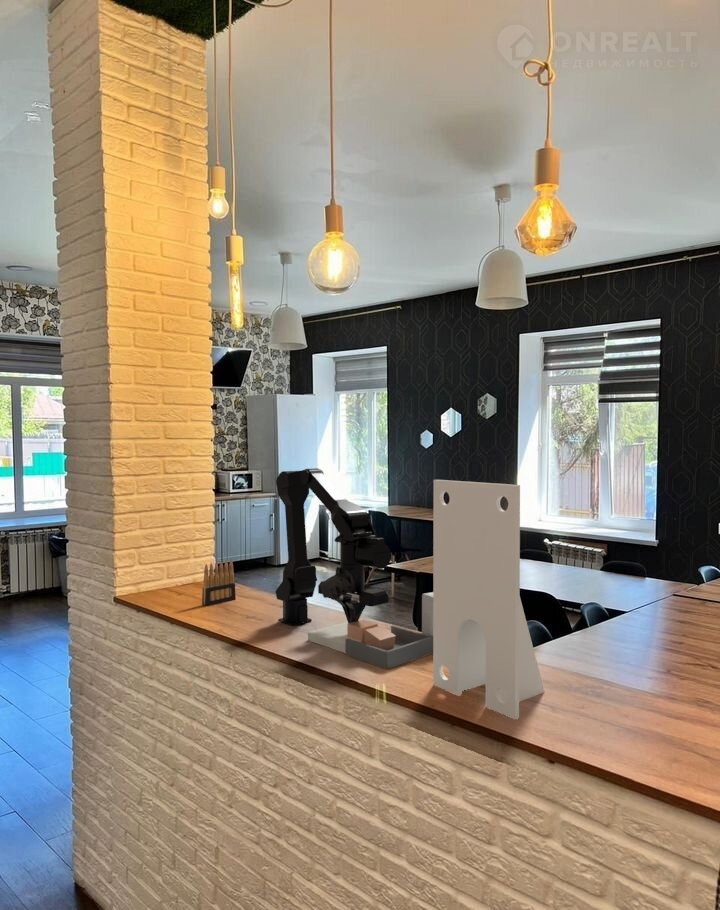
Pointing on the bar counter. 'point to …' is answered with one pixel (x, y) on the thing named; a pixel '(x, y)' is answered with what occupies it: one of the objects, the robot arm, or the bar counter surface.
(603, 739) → the bar counter surface
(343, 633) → the plate
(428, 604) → the skincare box
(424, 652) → the tray
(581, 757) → the bar counter surface
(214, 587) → the ammunition clip
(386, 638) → the tile front
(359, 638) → the tile rear
